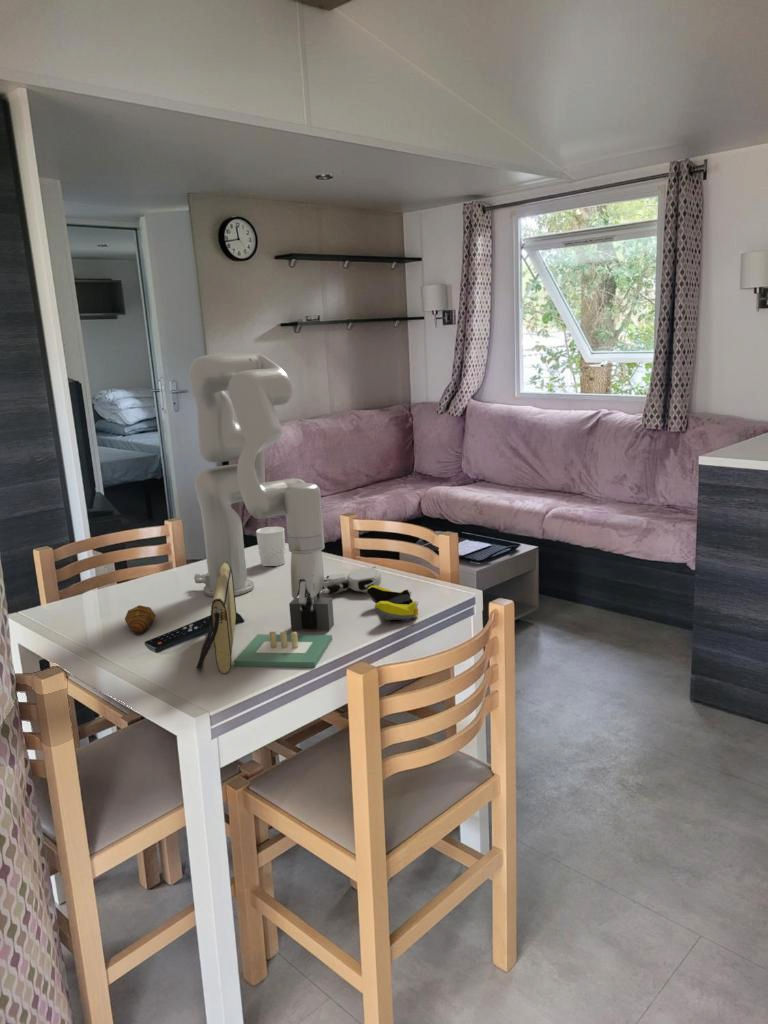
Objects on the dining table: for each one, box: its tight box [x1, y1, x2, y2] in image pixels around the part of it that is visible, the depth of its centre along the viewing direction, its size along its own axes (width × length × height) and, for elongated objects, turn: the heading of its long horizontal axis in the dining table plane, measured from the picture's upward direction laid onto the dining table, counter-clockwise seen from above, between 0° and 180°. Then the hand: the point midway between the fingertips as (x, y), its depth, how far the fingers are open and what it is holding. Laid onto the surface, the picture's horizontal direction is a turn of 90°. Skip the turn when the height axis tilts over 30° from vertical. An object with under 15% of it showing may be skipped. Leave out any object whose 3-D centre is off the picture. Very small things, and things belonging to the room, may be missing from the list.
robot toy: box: [321, 565, 382, 595], centre depth 190 cm, size 12×4×15 cm
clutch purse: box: [195, 562, 238, 675], centre depth 154 cm, size 30×7×15 cm, turn 9°
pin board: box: [233, 631, 333, 668], centre depth 152 cm, size 16×14×4 cm
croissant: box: [124, 604, 156, 635], centre depth 172 cm, size 14×7×5 cm, turn 11°
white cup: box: [255, 526, 286, 567], centre depth 217 cm, size 8×8×10 cm
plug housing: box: [288, 594, 335, 632], centre depth 165 cm, size 8×4×7 cm, turn 80°
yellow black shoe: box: [366, 585, 420, 622], centre depth 170 cm, size 15×6×10 cm
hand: (312, 623), depth 165 cm, fingers closed on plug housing, 4 cm apart
